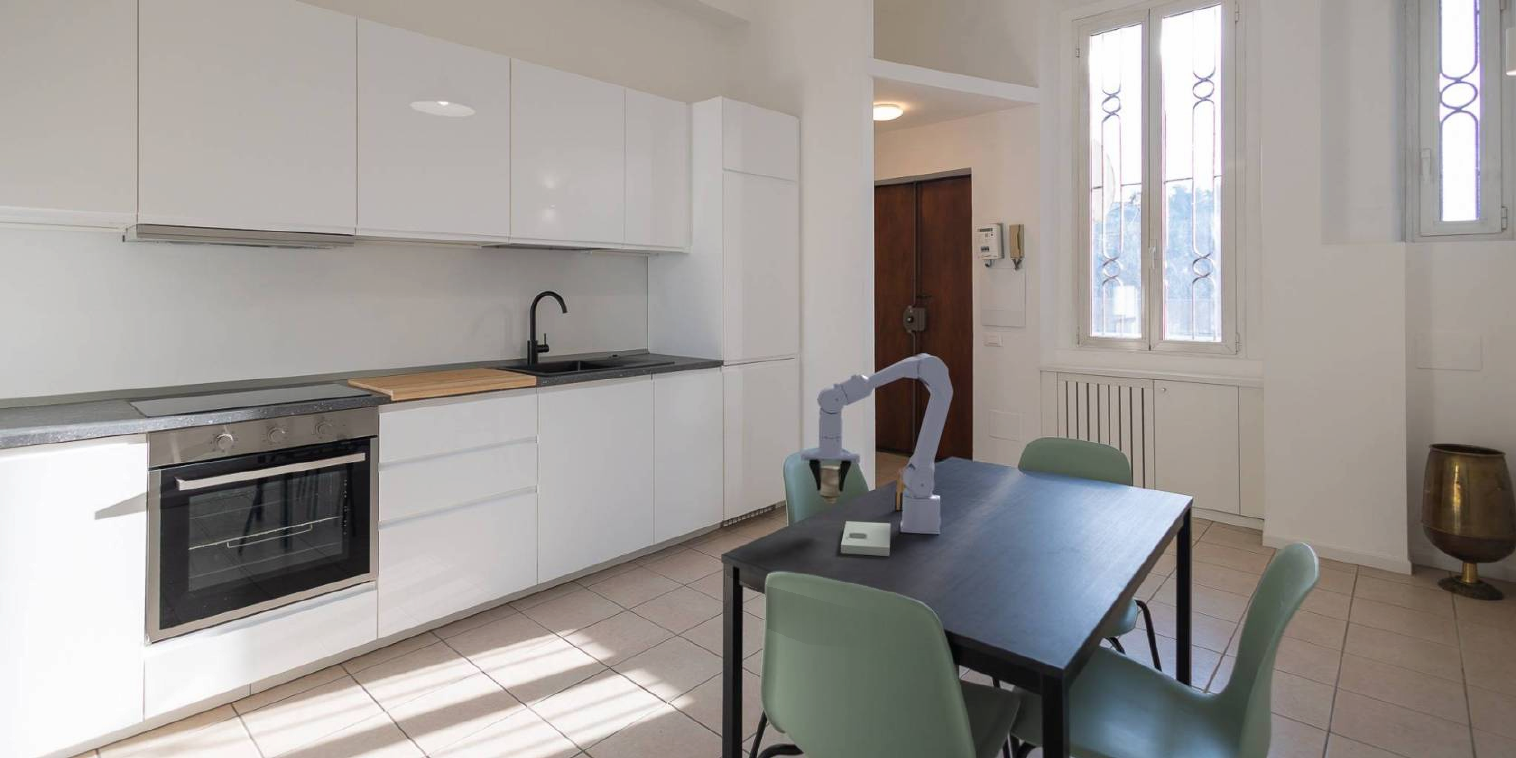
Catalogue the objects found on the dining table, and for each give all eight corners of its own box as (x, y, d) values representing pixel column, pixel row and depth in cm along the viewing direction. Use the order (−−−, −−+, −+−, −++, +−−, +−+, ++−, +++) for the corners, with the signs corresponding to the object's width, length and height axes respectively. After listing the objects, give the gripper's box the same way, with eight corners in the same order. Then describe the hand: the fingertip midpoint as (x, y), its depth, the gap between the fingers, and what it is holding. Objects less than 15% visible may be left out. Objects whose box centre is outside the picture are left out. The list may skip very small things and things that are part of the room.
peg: (840, 500, 190) (841, 466, 189) (839, 505, 186) (839, 470, 185) (821, 499, 191) (821, 465, 190) (819, 504, 186) (819, 470, 185)
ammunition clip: (900, 511, 205) (901, 468, 204) (894, 510, 206) (895, 467, 205) (920, 503, 213) (921, 461, 212) (914, 502, 214) (915, 460, 213)
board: (890, 531, 188) (890, 523, 188) (889, 555, 171) (889, 547, 170) (846, 528, 190) (846, 521, 190) (840, 553, 173) (840, 544, 172)
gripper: (860, 434, 189) (860, 486, 191) (803, 432, 192) (803, 484, 193) (859, 439, 182) (858, 494, 184) (799, 437, 185) (799, 491, 186)
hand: (830, 489), depth 188 cm, fingers closed on peg, 5 cm apart
